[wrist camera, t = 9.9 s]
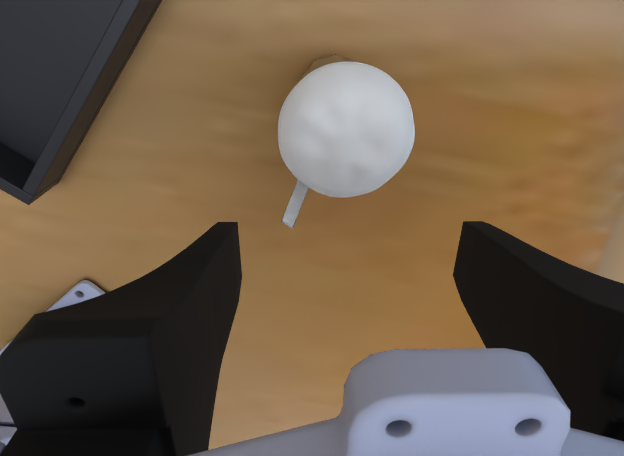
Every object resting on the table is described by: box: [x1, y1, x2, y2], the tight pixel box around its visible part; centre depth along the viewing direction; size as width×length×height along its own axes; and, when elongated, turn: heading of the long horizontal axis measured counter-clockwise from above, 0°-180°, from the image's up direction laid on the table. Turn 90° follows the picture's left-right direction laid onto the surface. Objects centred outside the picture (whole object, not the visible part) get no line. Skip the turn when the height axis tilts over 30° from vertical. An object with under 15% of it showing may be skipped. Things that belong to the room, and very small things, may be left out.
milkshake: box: [278, 54, 415, 228], centre depth 17 cm, size 4×5×10 cm
